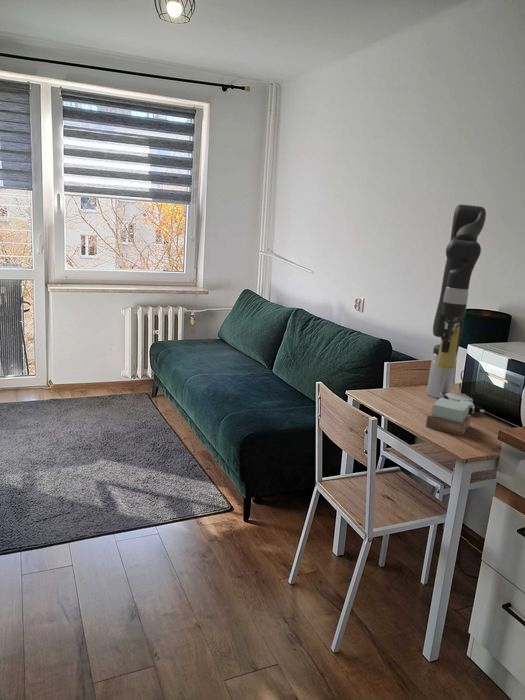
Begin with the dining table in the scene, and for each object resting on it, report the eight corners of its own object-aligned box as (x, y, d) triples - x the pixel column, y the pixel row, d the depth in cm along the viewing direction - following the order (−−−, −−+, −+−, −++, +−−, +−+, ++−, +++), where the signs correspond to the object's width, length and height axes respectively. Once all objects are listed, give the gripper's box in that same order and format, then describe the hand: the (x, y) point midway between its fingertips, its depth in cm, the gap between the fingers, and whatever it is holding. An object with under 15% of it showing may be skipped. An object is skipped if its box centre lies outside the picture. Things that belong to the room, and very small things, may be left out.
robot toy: (485, 419, 205) (467, 402, 219) (488, 407, 204) (469, 392, 218) (454, 417, 204) (437, 401, 218) (456, 406, 202) (440, 390, 216)
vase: (458, 369, 188) (465, 327, 184) (443, 369, 185) (450, 327, 182) (446, 364, 193) (452, 324, 190) (432, 364, 191) (438, 323, 187)
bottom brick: (434, 417, 199) (436, 406, 198) (469, 426, 193) (471, 415, 192) (425, 426, 189) (427, 415, 188) (462, 435, 183) (464, 424, 182)
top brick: (438, 408, 197) (440, 397, 196) (467, 415, 192) (469, 404, 191) (431, 415, 188) (433, 404, 187) (461, 423, 183) (463, 411, 182)
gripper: (461, 304, 176) (452, 356, 180) (471, 301, 188) (463, 350, 192) (437, 301, 180) (429, 352, 184) (449, 298, 192) (441, 346, 196)
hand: (446, 350), depth 188 cm, fingers closed on vase, 5 cm apart
